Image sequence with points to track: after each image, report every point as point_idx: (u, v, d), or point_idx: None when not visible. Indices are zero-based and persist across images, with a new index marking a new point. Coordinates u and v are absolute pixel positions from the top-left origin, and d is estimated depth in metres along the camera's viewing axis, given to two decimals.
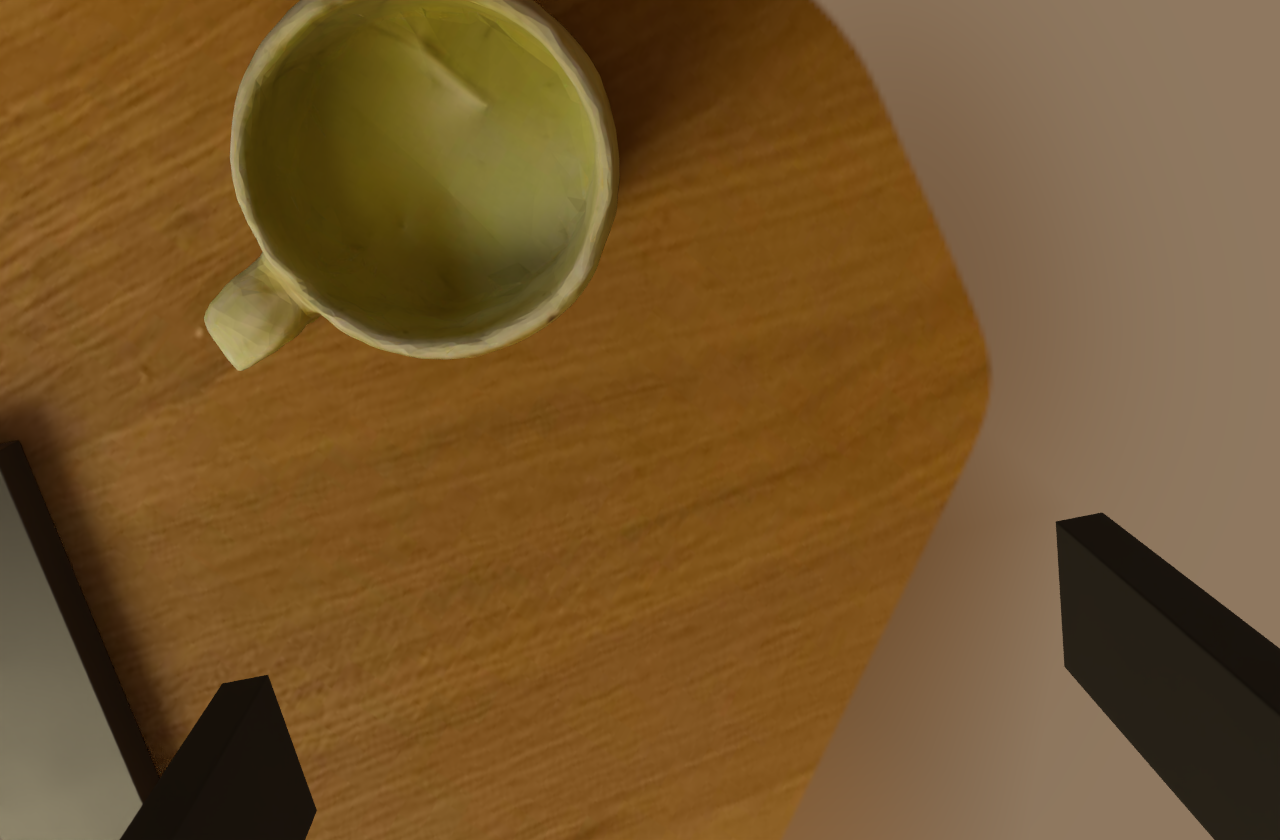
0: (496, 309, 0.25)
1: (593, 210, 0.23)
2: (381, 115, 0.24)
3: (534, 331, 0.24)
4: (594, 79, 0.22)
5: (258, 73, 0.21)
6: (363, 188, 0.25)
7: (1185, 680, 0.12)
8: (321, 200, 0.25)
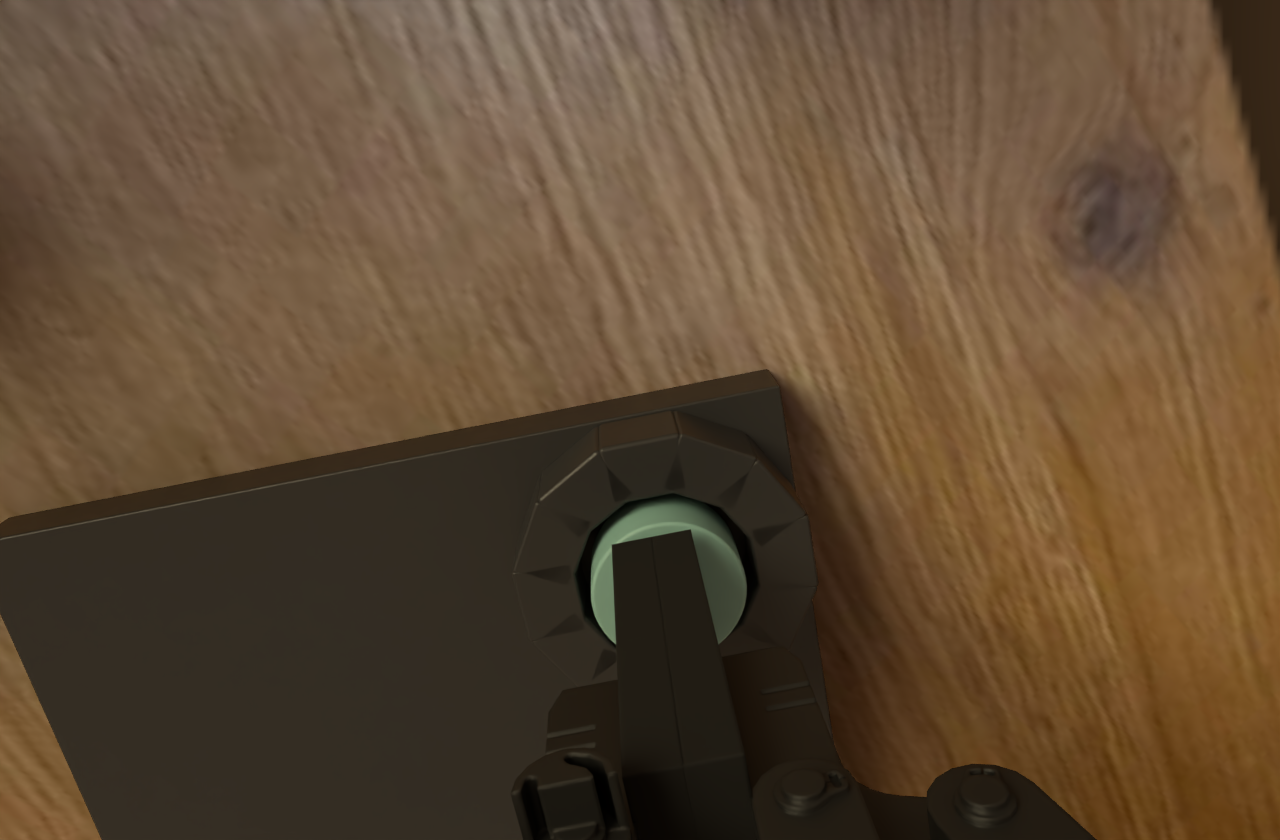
0: None
1: None
2: None
3: None
4: None
5: None
6: None
7: None
8: None
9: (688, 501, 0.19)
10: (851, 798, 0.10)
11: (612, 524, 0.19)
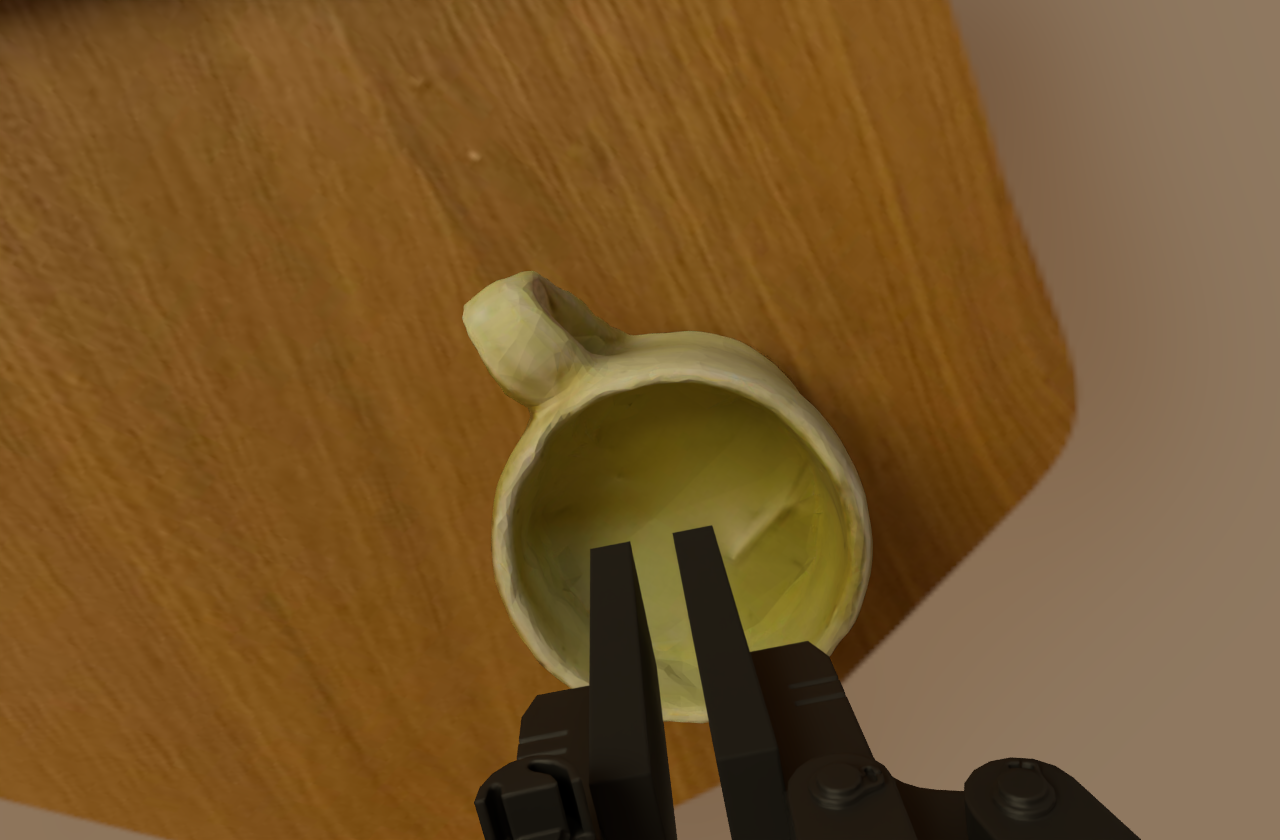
0: (541, 583, 0.24)
1: None
2: (726, 462, 0.25)
3: (526, 645, 0.23)
4: None
5: (781, 412, 0.22)
6: (656, 442, 0.24)
7: None
8: (645, 403, 0.24)
9: None
10: (887, 793, 0.10)
11: None
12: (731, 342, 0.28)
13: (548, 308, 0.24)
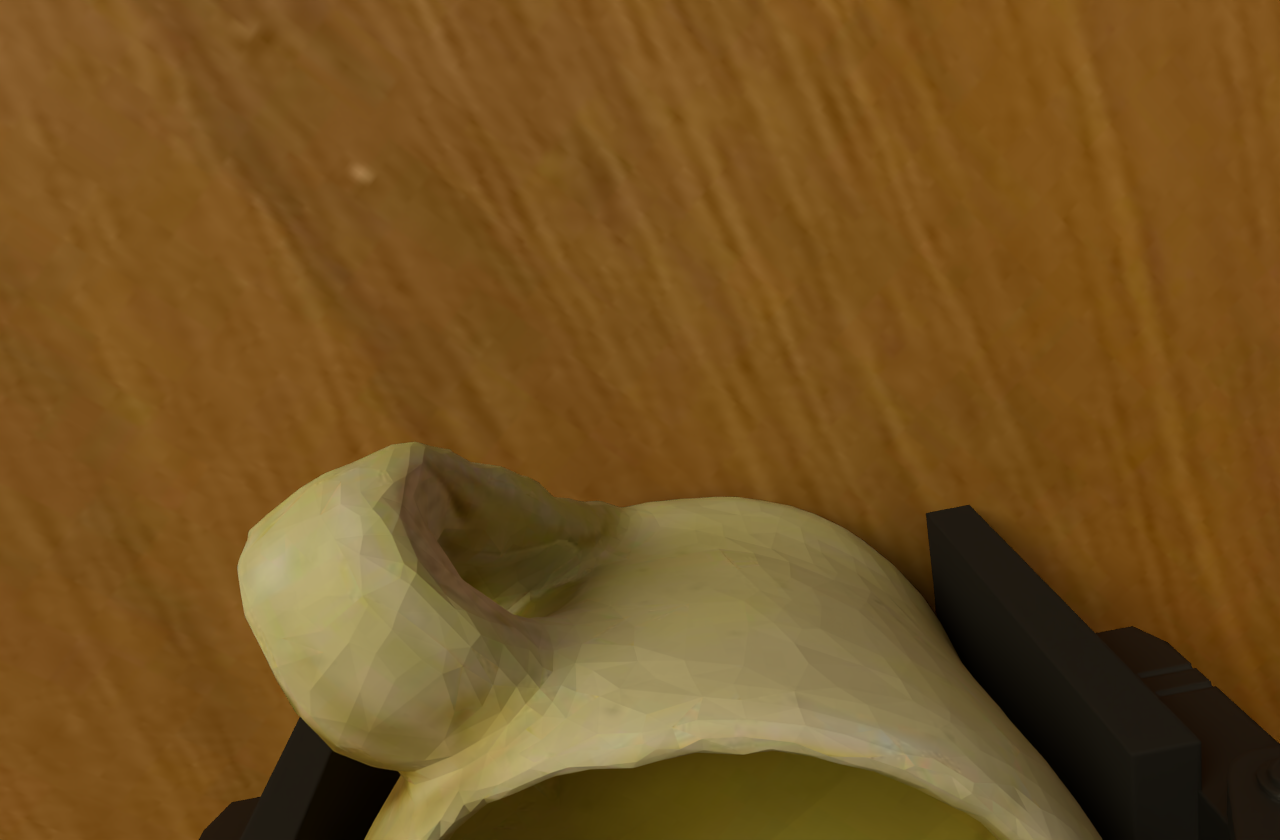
0: None
1: None
2: (824, 821, 0.12)
3: None
4: None
5: (997, 825, 0.09)
6: (682, 789, 0.12)
7: (1013, 656, 0.13)
8: None
9: None
10: None
11: None
12: (816, 529, 0.15)
13: (451, 517, 0.11)
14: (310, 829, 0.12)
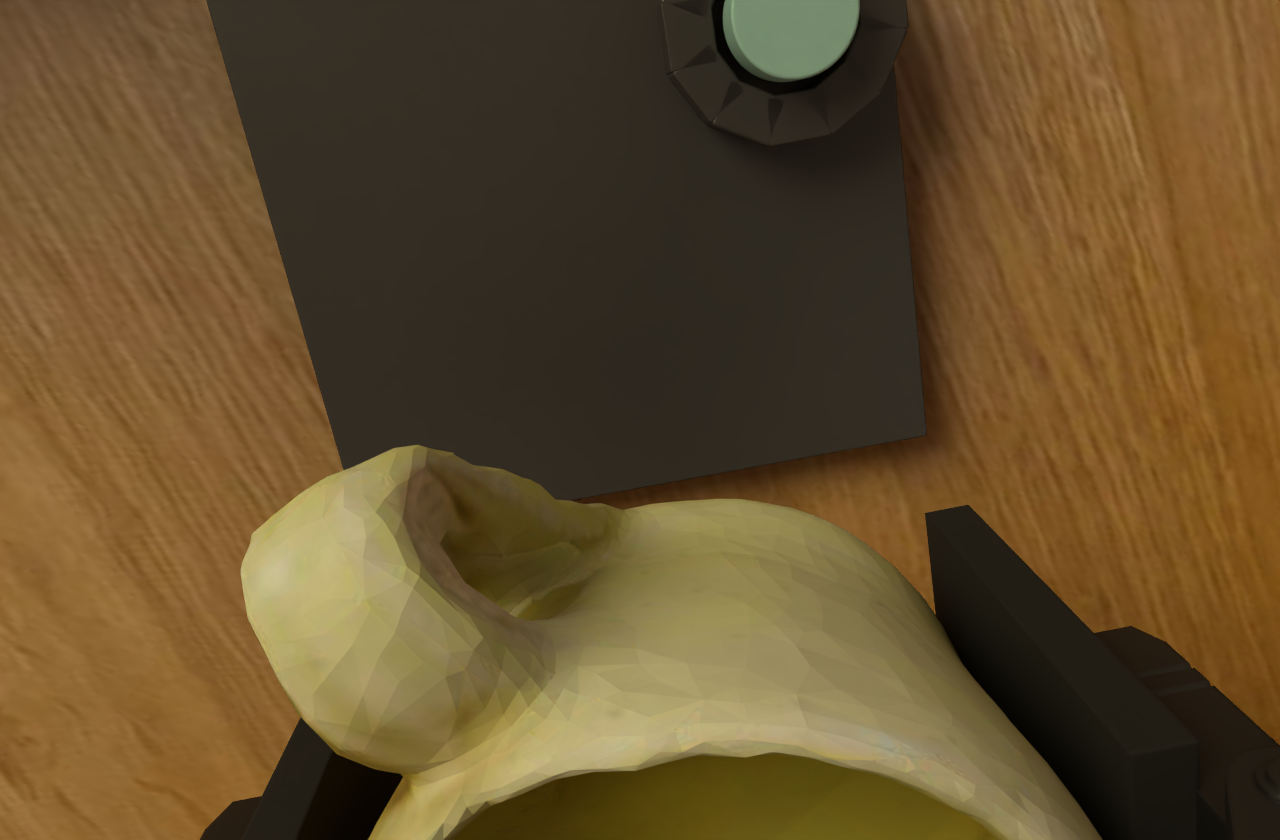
0: None
1: None
2: (826, 823, 0.12)
3: None
4: None
5: (999, 828, 0.09)
6: (684, 791, 0.12)
7: (1012, 656, 0.13)
8: None
9: None
10: None
11: None
12: (817, 531, 0.15)
13: (454, 520, 0.11)
14: (311, 828, 0.12)
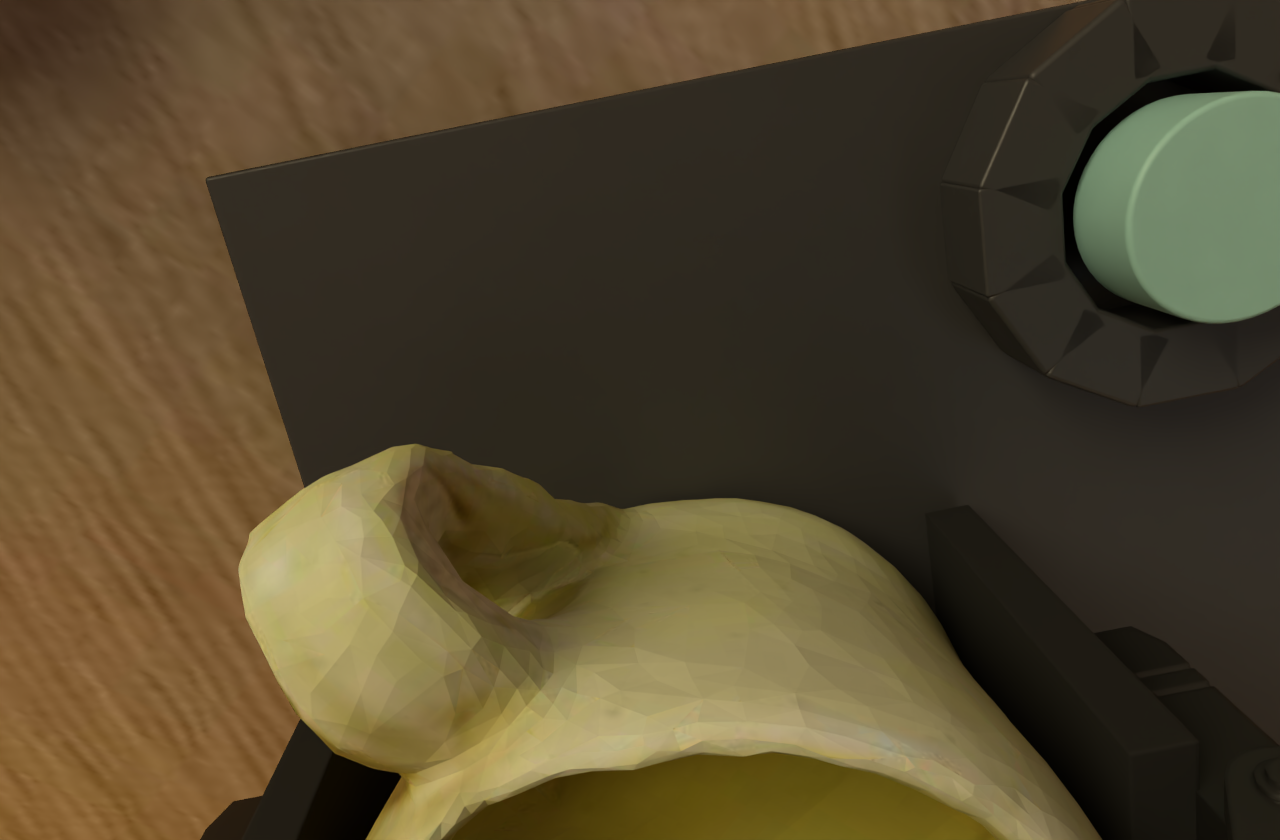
0: None
1: None
2: (824, 823, 0.12)
3: None
4: None
5: (997, 826, 0.09)
6: (683, 791, 0.12)
7: (1012, 656, 0.13)
8: None
9: None
10: None
11: (1134, 126, 0.13)
12: (816, 531, 0.15)
13: (452, 518, 0.11)
14: (312, 828, 0.12)
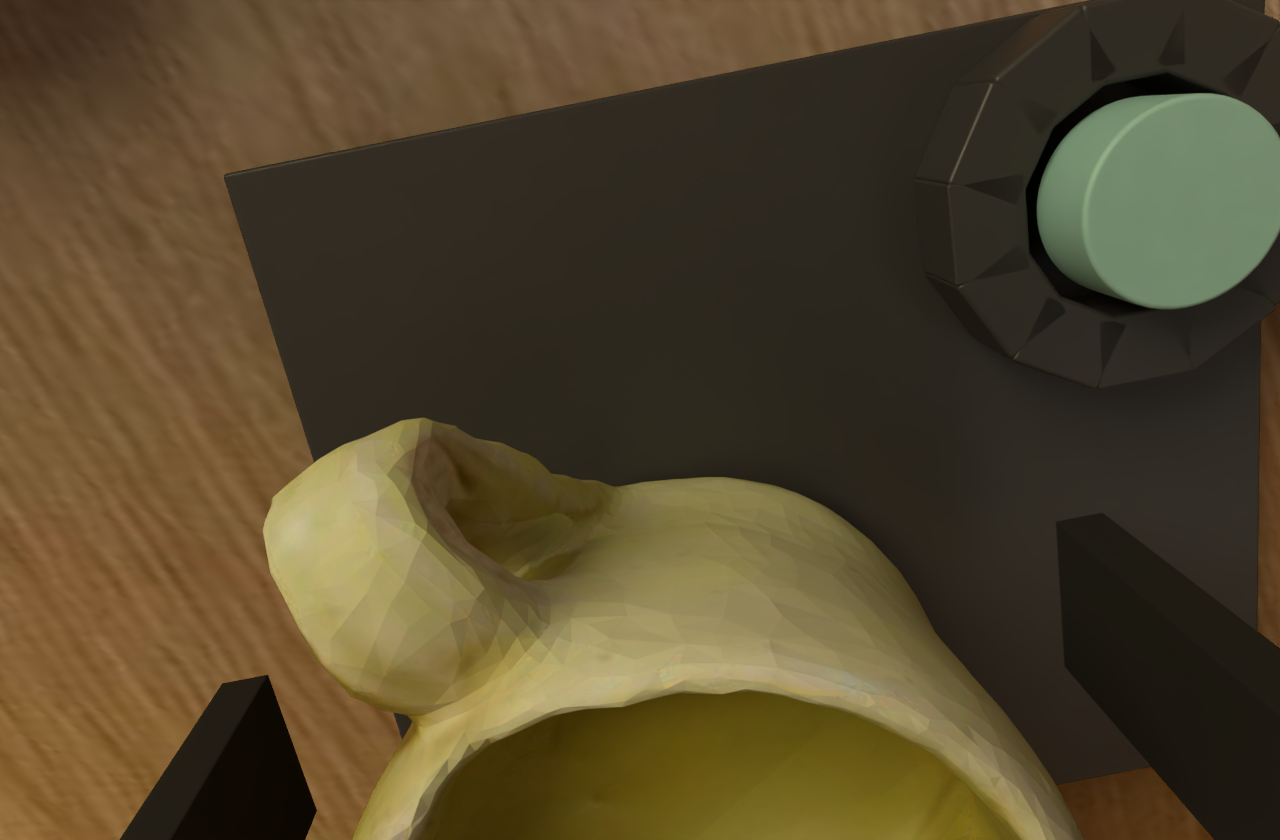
0: None
1: None
2: (801, 771, 0.13)
3: None
4: None
5: (950, 757, 0.10)
6: (670, 740, 0.13)
7: (1185, 680, 0.12)
8: None
9: None
10: None
11: (1091, 126, 0.14)
12: (797, 506, 0.16)
13: (457, 487, 0.12)
14: None
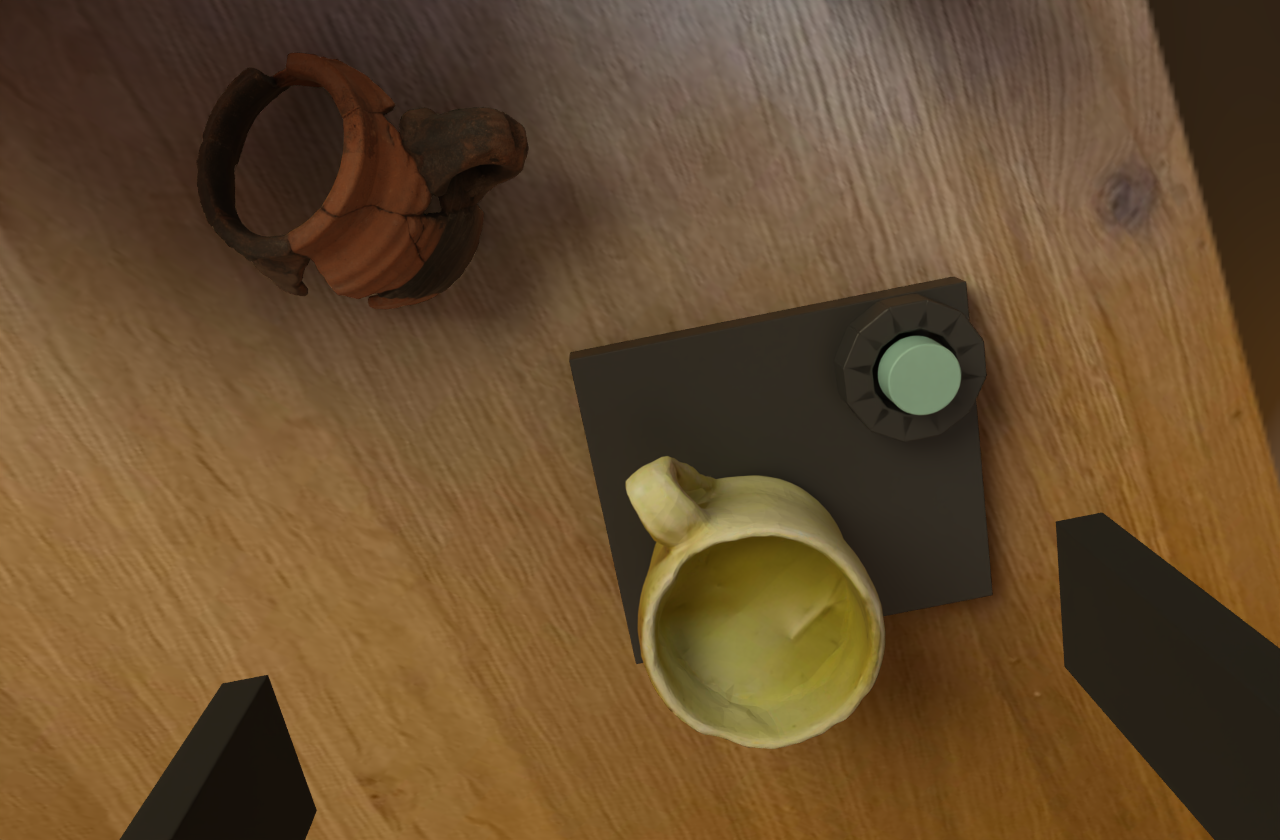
0: (668, 655, 0.37)
1: (738, 734, 0.37)
2: (788, 576, 0.38)
3: (661, 697, 0.36)
4: None
5: (829, 555, 0.35)
6: (744, 563, 0.37)
7: (1185, 680, 0.12)
8: (737, 540, 0.37)
9: (929, 338, 0.39)
10: None
11: (894, 349, 0.39)
12: (788, 486, 0.40)
13: (676, 478, 0.37)
14: None
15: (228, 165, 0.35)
